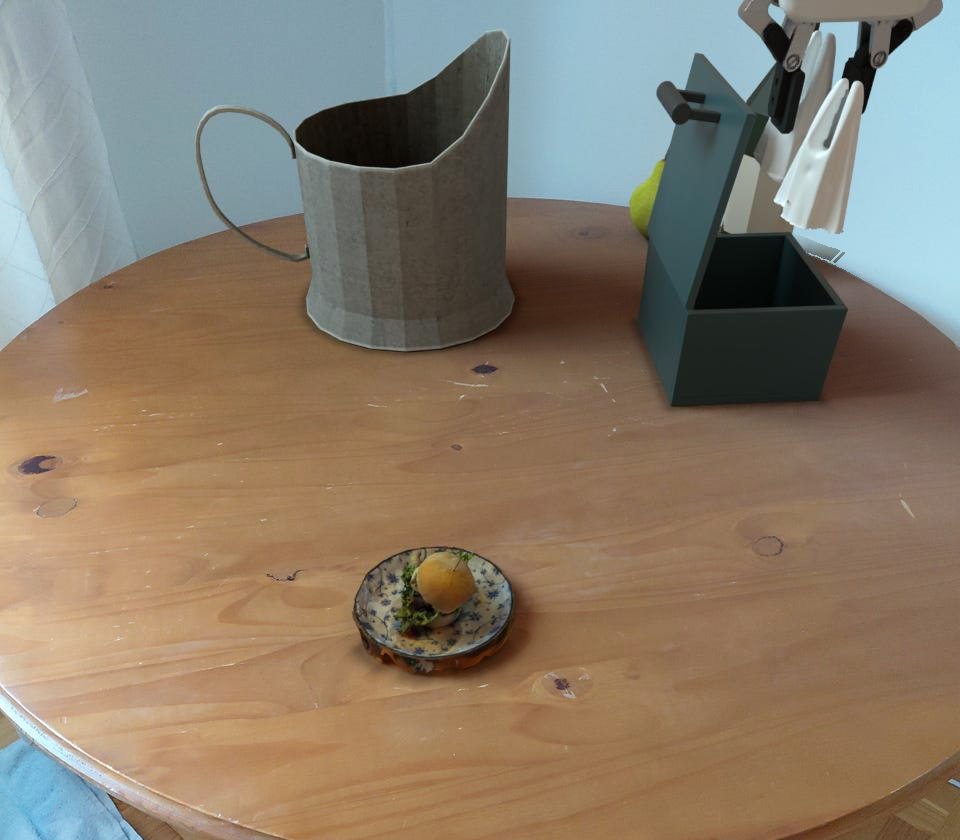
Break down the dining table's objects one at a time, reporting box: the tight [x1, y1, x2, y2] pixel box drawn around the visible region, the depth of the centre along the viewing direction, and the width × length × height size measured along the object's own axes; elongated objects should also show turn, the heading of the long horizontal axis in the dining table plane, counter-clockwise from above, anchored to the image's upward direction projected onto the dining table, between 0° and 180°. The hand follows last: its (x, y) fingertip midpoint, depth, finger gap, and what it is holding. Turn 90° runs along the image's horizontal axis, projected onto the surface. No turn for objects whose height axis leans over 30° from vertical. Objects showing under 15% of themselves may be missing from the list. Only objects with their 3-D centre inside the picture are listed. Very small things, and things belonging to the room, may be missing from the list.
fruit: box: [628, 147, 669, 239], centre depth 107 cm, size 7×7×12 cm
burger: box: [351, 545, 516, 675], centre depth 63 cm, size 12×12×8 cm
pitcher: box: [194, 28, 515, 352], centre depth 90 cm, size 23×32×25 cm
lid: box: [647, 52, 757, 309], centre depth 78 cm, size 16×17×5 cm
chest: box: [637, 232, 849, 407], centre depth 88 cm, size 15×17×9 cm
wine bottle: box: [719, 23, 821, 234], centre depth 96 cm, size 8×8×30 cm
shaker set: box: [753, 30, 864, 235], centre depth 66 cm, size 12×4×11 cm, turn 4°
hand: (812, 123), depth 66 cm, fingers closed on shaker set, 4 cm apart
